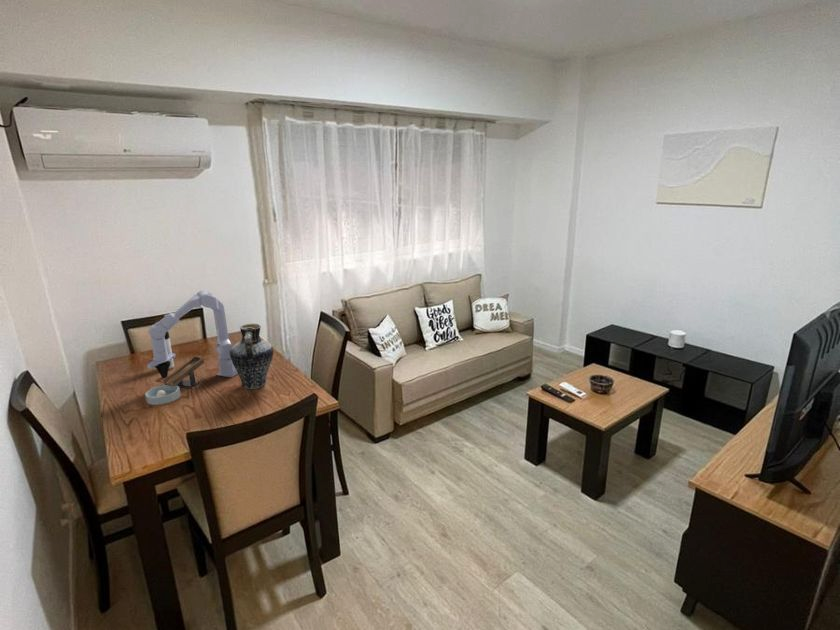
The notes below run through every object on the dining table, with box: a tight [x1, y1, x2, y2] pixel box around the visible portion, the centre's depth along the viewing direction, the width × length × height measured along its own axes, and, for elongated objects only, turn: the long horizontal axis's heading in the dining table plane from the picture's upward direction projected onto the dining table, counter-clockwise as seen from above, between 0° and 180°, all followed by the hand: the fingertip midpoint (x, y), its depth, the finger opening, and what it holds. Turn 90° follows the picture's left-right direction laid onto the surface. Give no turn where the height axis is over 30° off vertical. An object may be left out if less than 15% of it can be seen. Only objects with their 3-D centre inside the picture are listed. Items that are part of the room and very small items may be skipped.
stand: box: [177, 371, 200, 389], centre depth 216 cm, size 10×5×7 cm, turn 74°
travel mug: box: [164, 331, 175, 371], centre depth 232 cm, size 6×7×20 cm
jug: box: [230, 323, 274, 390], centre depth 212 cm, size 21×19×30 cm
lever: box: [154, 355, 205, 386], centre depth 215 cm, size 12×20×4 cm, turn 164°
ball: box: [157, 390, 166, 397], centre depth 202 cm, size 4×4×4 cm
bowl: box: [144, 384, 182, 406], centre depth 203 cm, size 13×13×4 cm
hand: (164, 377), depth 211 cm, fingers closed
